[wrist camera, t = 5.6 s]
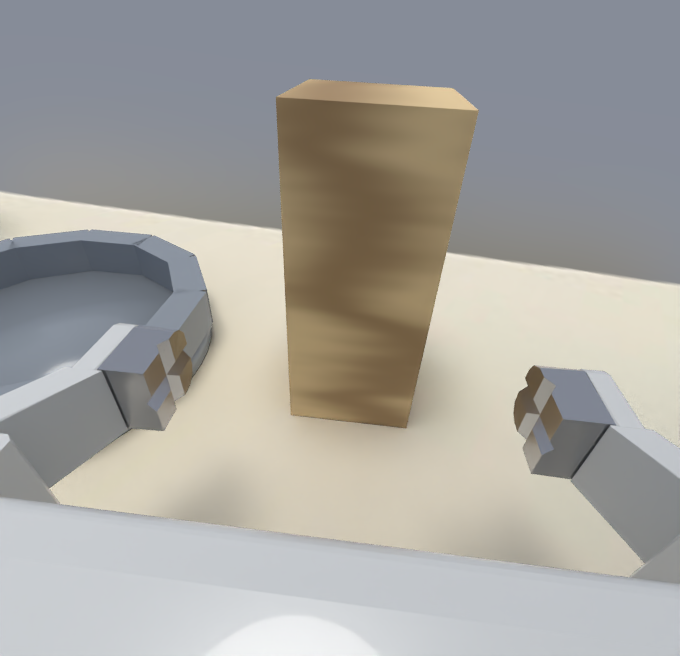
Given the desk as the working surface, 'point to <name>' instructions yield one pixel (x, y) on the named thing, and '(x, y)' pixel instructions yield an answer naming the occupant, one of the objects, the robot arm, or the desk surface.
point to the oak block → (365, 238)
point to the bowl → (92, 297)
